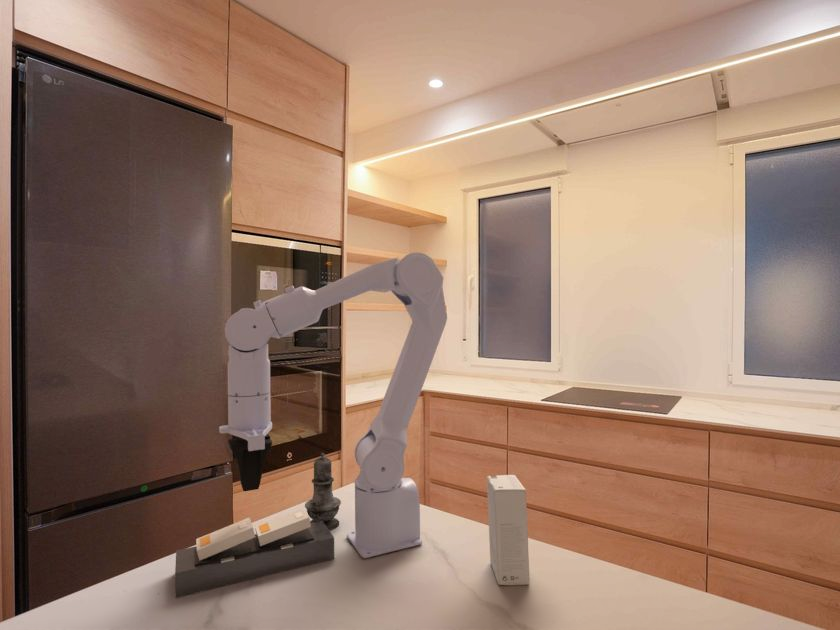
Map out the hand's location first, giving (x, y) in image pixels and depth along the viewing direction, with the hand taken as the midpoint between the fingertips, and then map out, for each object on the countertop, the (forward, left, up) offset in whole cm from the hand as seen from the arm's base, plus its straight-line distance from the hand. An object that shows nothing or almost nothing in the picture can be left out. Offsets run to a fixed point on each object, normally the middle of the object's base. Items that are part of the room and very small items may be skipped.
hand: (250, 488), depth 67 cm
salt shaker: (-12, -6, -10) cm, 17 cm away
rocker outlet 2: (-4, +3, -5) cm, 7 cm away
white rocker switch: (+4, +3, -5) cm, 7 cm away
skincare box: (-30, +20, -10) cm, 37 cm away
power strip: (0, +3, -10) cm, 10 cm away
